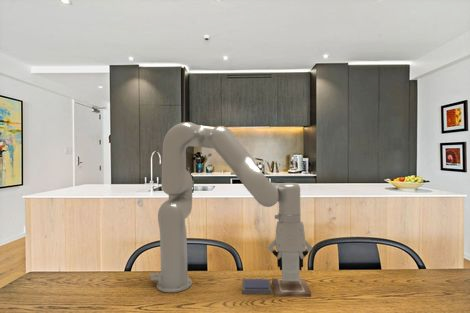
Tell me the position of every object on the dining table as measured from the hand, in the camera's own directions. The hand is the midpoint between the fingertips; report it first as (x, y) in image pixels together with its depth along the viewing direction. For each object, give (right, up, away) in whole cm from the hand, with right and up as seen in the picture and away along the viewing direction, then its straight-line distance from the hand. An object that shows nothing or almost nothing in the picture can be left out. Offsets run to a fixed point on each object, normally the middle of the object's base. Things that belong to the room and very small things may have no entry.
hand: (290, 268), depth 110 cm
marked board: (0, -7, 0) cm, 7 cm away
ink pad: (-12, -7, +1) cm, 14 cm away
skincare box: (0, -4, 0) cm, 4 cm away
